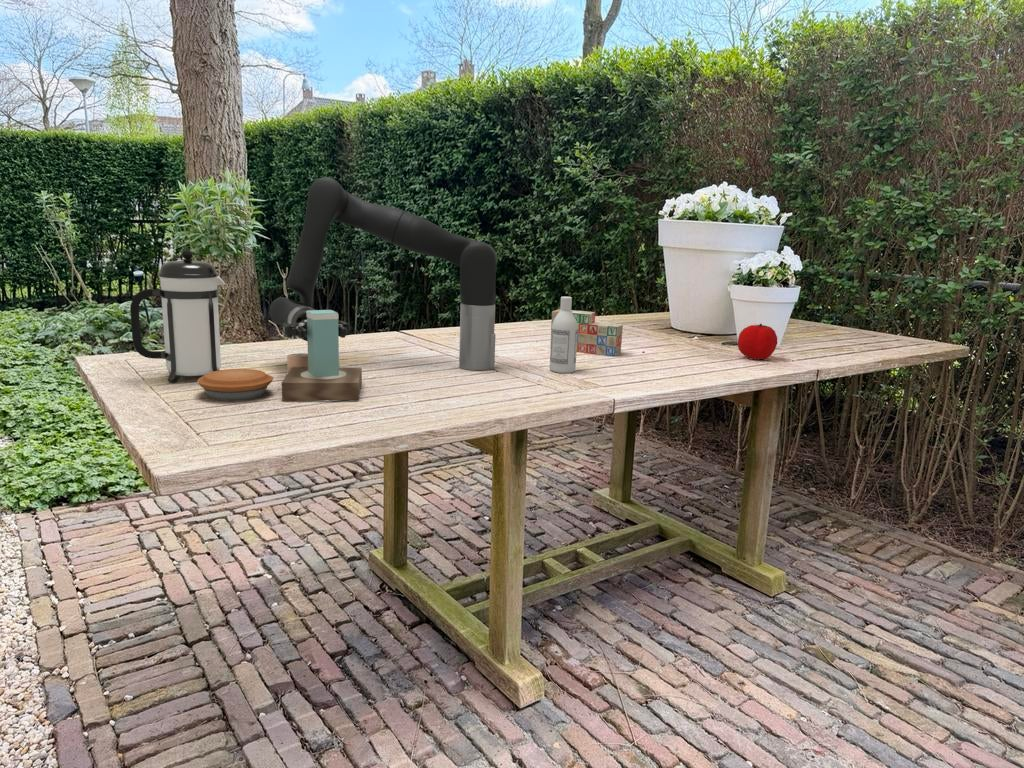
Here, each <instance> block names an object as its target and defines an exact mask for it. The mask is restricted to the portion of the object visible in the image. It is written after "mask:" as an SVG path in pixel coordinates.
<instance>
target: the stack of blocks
mask: <svg viewBox="0 0 1024 768" xmlns="http://www.w3.org/2000/svg"><path fill="white" fill-rule="evenodd" d="M559 311H560V308H559V309H555V310H552V311H551V322H550V323H551V325H550V326H551V327H550V329H551V330H550V333H551V332H552V324H553V321H554V319H555V317H556V316H557V314H558V313H559ZM571 311H572V313H573V315H574V317H575V319H576V321H577V326H578V334H577V351H576V353H581V354H589V355H598V356H607V357H617V356H619V355H620V354H622V343H623V341H622V339H623V328H624V324H622V323H621V324H620V323H610V322H602V321H601V322H600V321H596V312H595V311H585V310H573V309H571Z"/></svg>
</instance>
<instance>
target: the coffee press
mask: <svg viewBox="0 0 1024 768" xmlns="http://www.w3.org/2000/svg"><path fill="white" fill-rule="evenodd" d="M193 255H194V254H193V252H192V250H189V249H184V250H182V252H181V257H182V258H184V259H183V260H172V261H168V262H166V263H163V264H162V265H161V266H160V267H159V268H160V269H159V271H157V276H158V278H159V280H160V288H159V289H157V288H156V289H154V288H153V289H152V288H147V289H144V290H140V291H139V292H137V293H136V294H135V295H134V296H133V298H132V300H131V303H130V309H129V311H130V323H131V324H130V327H131V328H130V329H131V336H132V343H133V347H134V349H135V350H136V352H137V353H138V354H139V355H141V356H142V357H144V358H147V359H153V360H155V359H156V360H159V359H160V360H161V359H162V360H165V366H166V369H167V371H168V373H169V375H168V377H167V382H168V383H173V384H176V383H177V382H178V380H179V379H180V378H181V377H193V376H194V377H196V376H197V377H198V376H199V377H200V376H204V375H206V374H208V373H210V372H214V371H219V370H221V367H222V356H221V352H222V351H221V335H220V334H221V332H220V318H219V294H220V293H219V288H218V286H225V285H226V283H225V282H224V279H222V278H221V277H220V276H219V272H217V270H216V267H215V266H214V265H213V264H211V263H209V262H206V261H202V260H201V261H200V260H192V258H193ZM152 297H160V298H161V307H162V308H161V311H162V324H163V336H164V337H163V339H164V340H163V341H164V350H160V351H159V350H154V351H153V350H148V349H147V348H145V346H144V345H143V343H142V336H141V335H142V334H141V332H142V331H141V322H140V321H141V319H140V304H141V303H142V301H143V300H144V299H147V298H152Z"/></svg>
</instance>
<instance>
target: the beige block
mask: <svg viewBox="0 0 1024 768" xmlns="http://www.w3.org/2000/svg"><path fill="white" fill-rule="evenodd" d="M286 358H287V359H286V361H287V373H288V372H289V371H290V369H291V368H292V367H308V353H304V352H303V353H302V352H301V353H290V354H287V356H286Z"/></svg>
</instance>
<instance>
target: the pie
mask: <svg viewBox="0 0 1024 768" xmlns="http://www.w3.org/2000/svg"><path fill="white" fill-rule="evenodd" d="M273 380H274V376H272V375H270V374H268V373H266V372H265V371H262V370H258V369H255V368H254V369H252V368H230V369H229V368H228V369H219V371H214V372H210V373H208V374H206V375H201V377H199V378H198V379H197V384H198V385H199V386H200V387H201V388H202V389H203V390H204V391H205V393H206V394H207V396H208V397H209V398H211V399H213V400H216V401H226V402H236V401H237V402H238V401H246V400H247V401H248V400H253V399H256V398H260V397H262V396H263V395H264V394H265V391H266V390H267V388H268V387H269V385H271V383H272V382H273Z"/></svg>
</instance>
